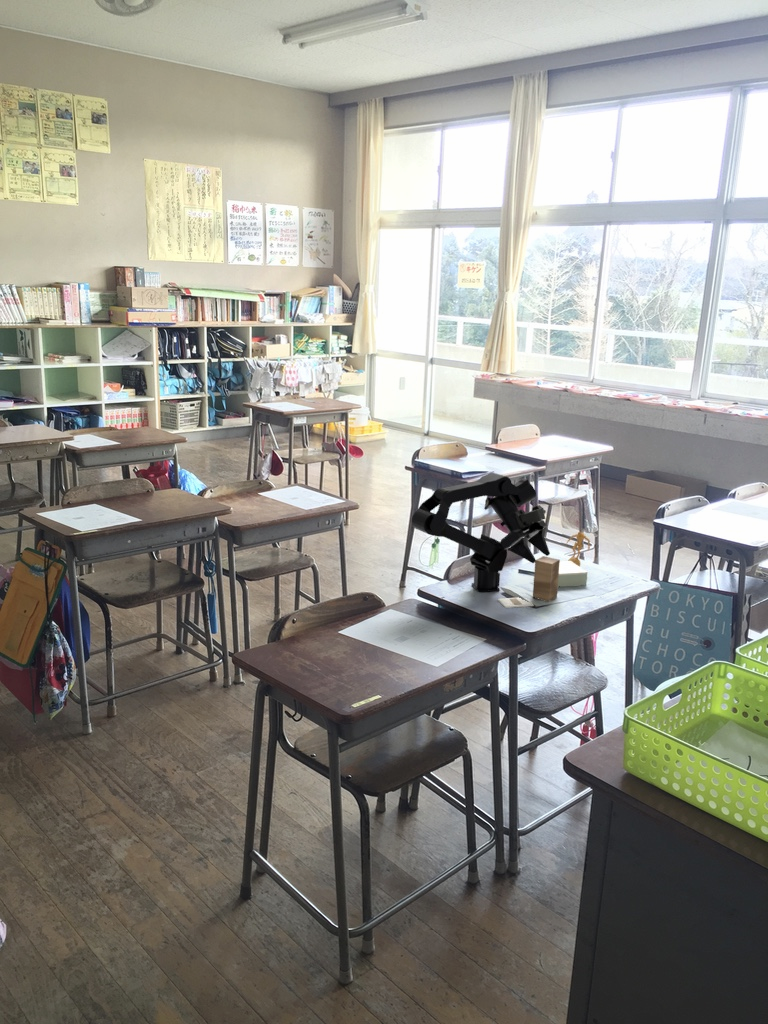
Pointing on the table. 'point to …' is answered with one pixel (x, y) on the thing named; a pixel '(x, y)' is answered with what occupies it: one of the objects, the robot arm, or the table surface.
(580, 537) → the figurine
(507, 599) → the card
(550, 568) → the walnut block
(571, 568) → the base block
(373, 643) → the table surface
